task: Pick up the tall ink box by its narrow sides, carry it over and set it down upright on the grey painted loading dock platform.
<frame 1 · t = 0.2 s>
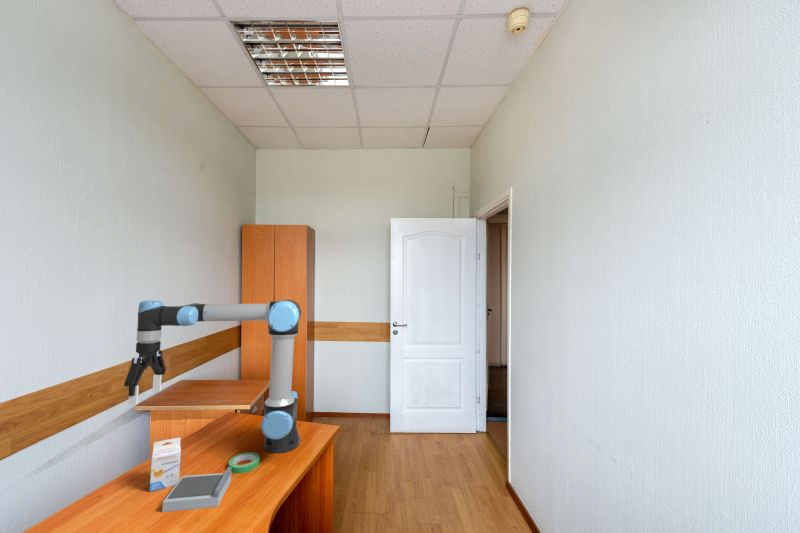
hand: (145, 397, 126), 27 cm above the table, fingers open, 13 cm apart
tape roll: (244, 466, 131), on the table
dock: (199, 495, 112), on the table
ink box: (164, 485, 117), on the table
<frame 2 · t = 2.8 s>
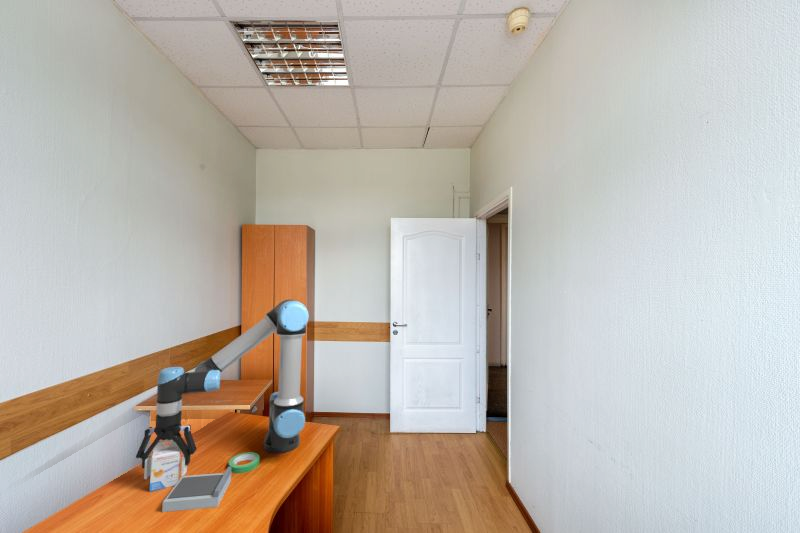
hand: (165, 475, 118), 3 cm above the table, fingers open, 11 cm apart
nothing on the table moved.
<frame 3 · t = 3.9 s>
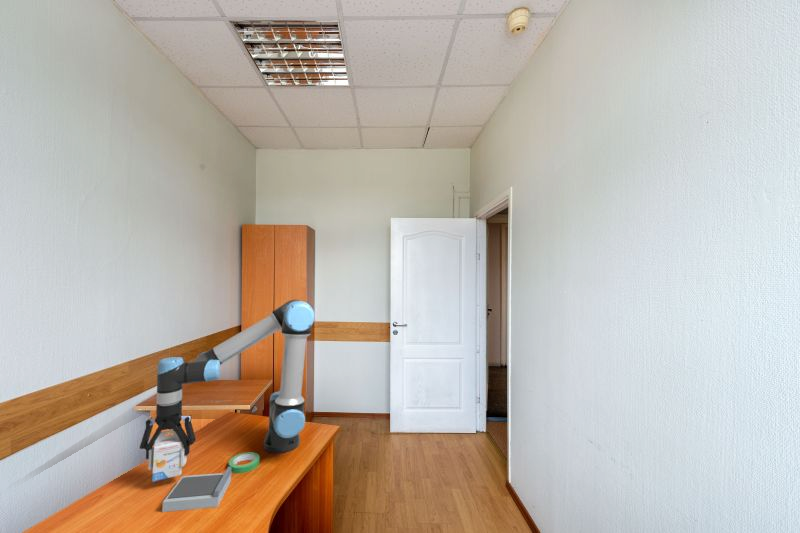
hand: (167, 465, 118), 6 cm above the table, fingers closed on ink box, 9 cm apart
ink box: (167, 475, 118), point 3 cm above the table, touching gripper
everything else where it was.
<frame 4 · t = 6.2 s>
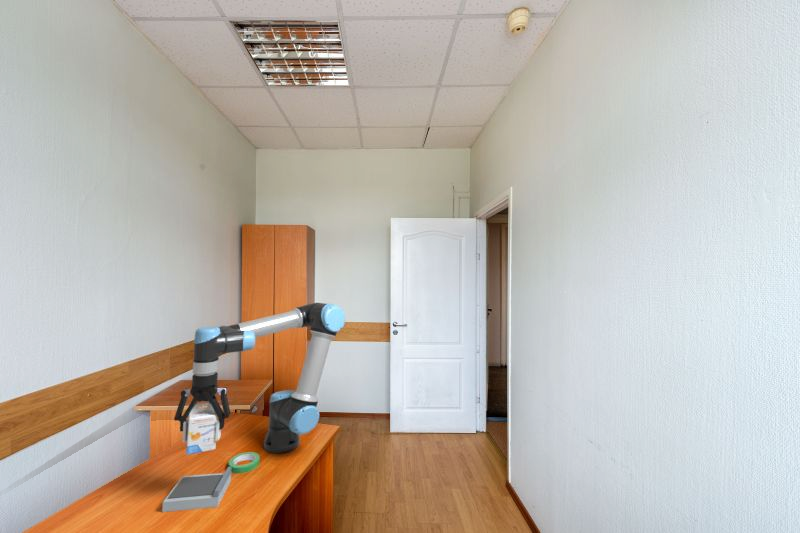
hand: (201, 439, 113), 18 cm above the table, fingers closed on ink box, 9 cm apart
ink box: (201, 449, 113), point 15 cm above the table, touching gripper
everything else where it was.
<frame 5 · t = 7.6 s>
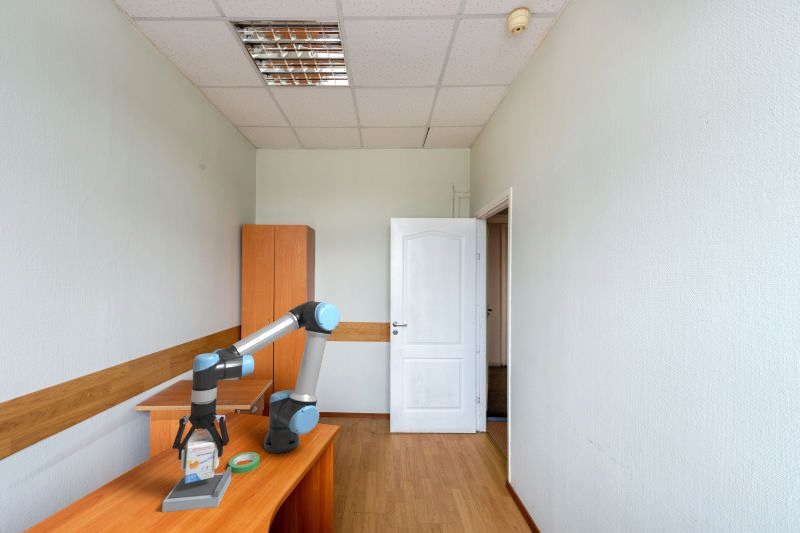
hand: (200, 467, 113), 9 cm above the table, fingers closed on ink box, 9 cm apart
ink box: (199, 477, 112), point 6 cm above the table, touching gripper
everything else where it was.
when the fingers open (7 cm above the table, at t = 8.7 s): ink box stays where it is, resting on dock.
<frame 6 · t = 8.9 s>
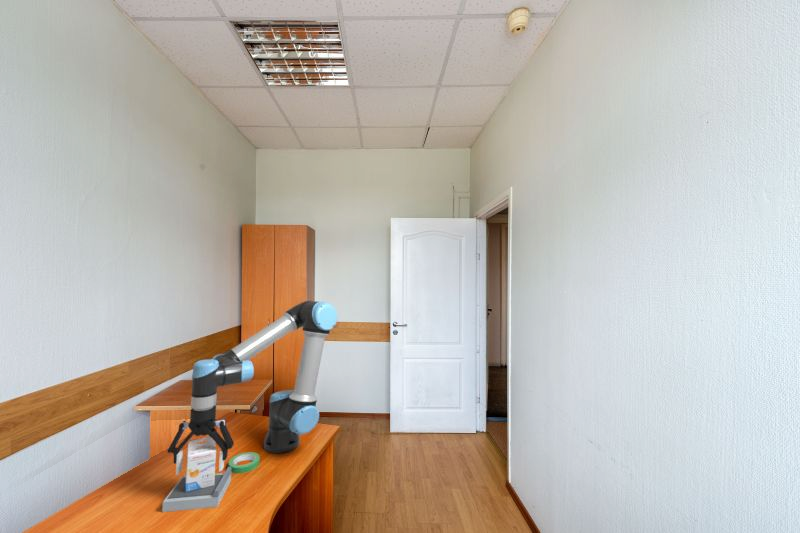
hand: (200, 470, 113), 8 cm above the table, fingers open, 12 cm apart
ink box: (200, 485, 112), point 3 cm above the table, touching dock
everything else where it was.
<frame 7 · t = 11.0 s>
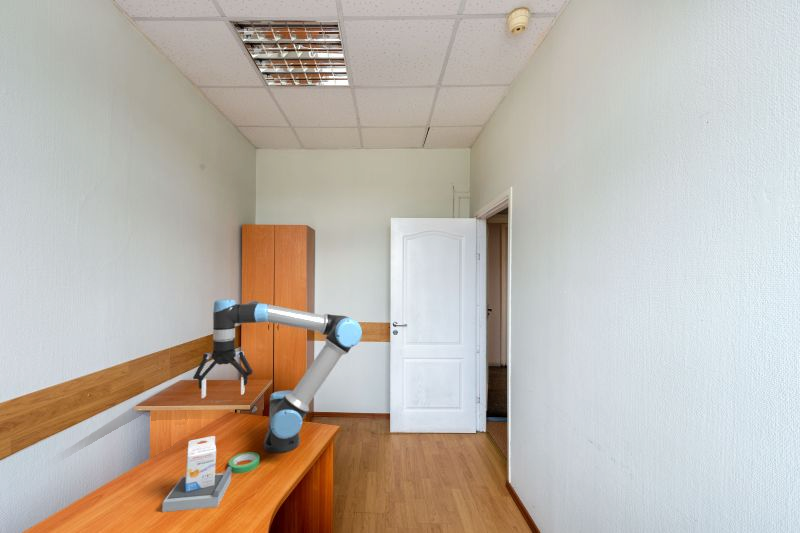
hand: (223, 395, 128), 28 cm above the table, fingers open, 13 cm apart
nothing on the table moved.
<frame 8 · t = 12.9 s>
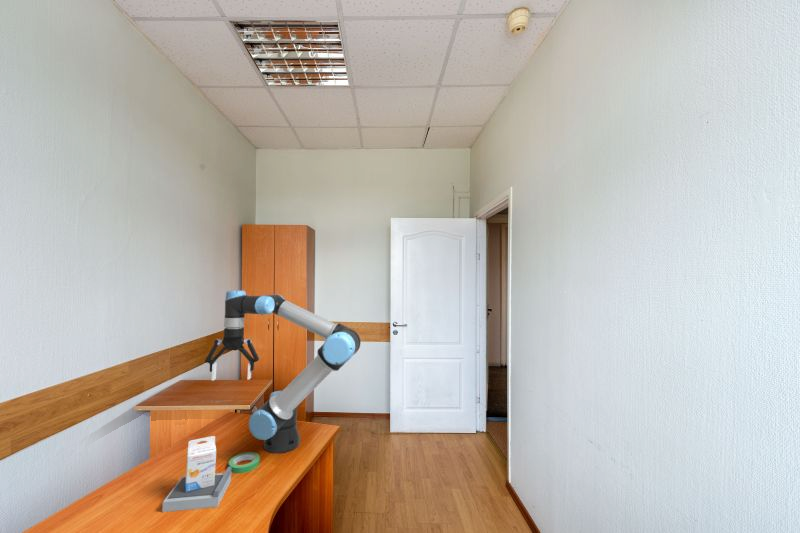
hand: (231, 379, 138), 32 cm above the table, fingers open, 13 cm apart
nothing on the table moved.
at the end: ink box inside the target area on the dock (0.7 cm from its centre), point 3.1 cm above the dock's base; ink box tilted 0°; the gripper is holding nothing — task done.
